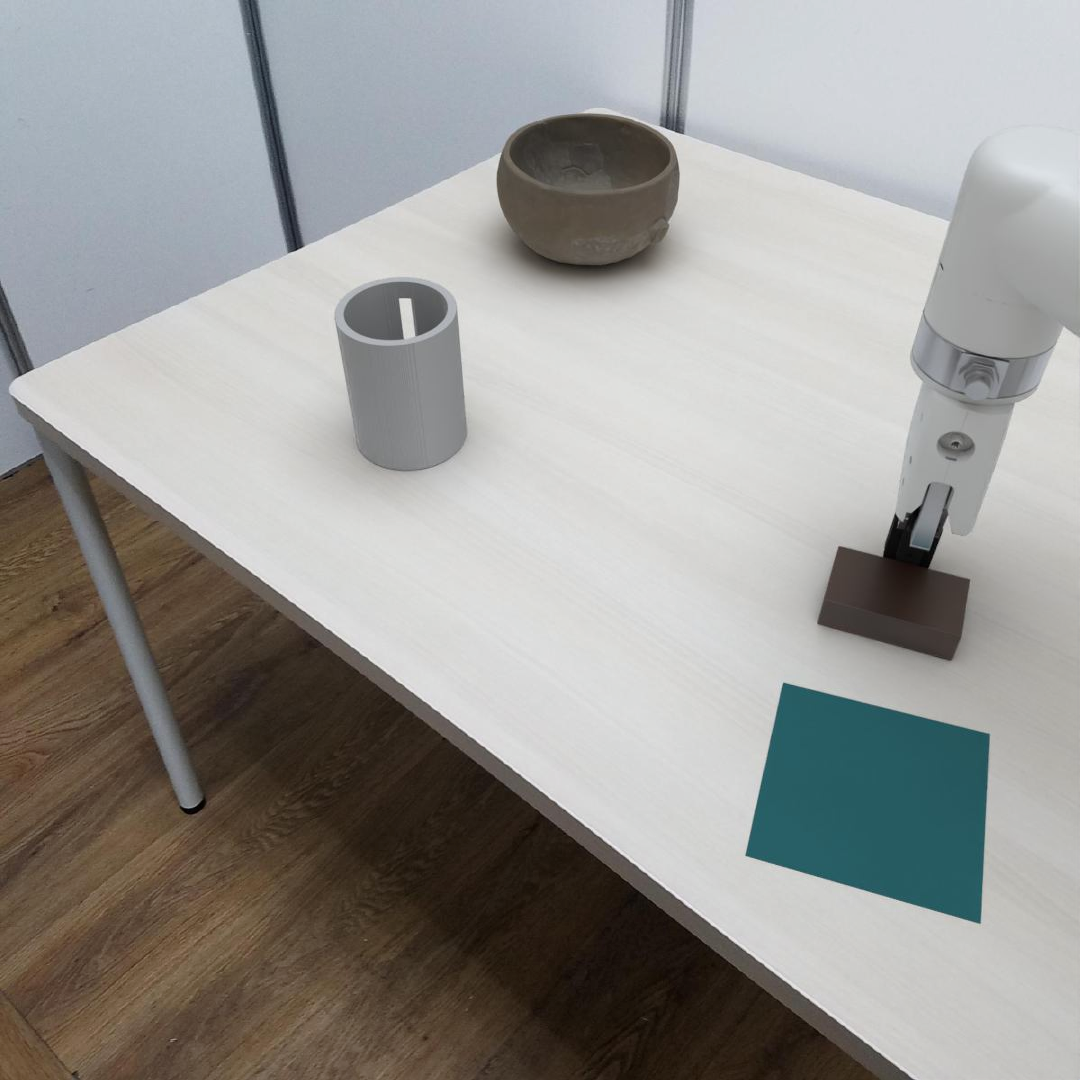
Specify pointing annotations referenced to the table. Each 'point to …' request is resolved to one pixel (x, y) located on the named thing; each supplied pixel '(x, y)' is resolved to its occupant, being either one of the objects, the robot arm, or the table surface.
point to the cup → (403, 372)
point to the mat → (875, 801)
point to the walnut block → (895, 602)
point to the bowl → (588, 187)
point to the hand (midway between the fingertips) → (905, 558)
